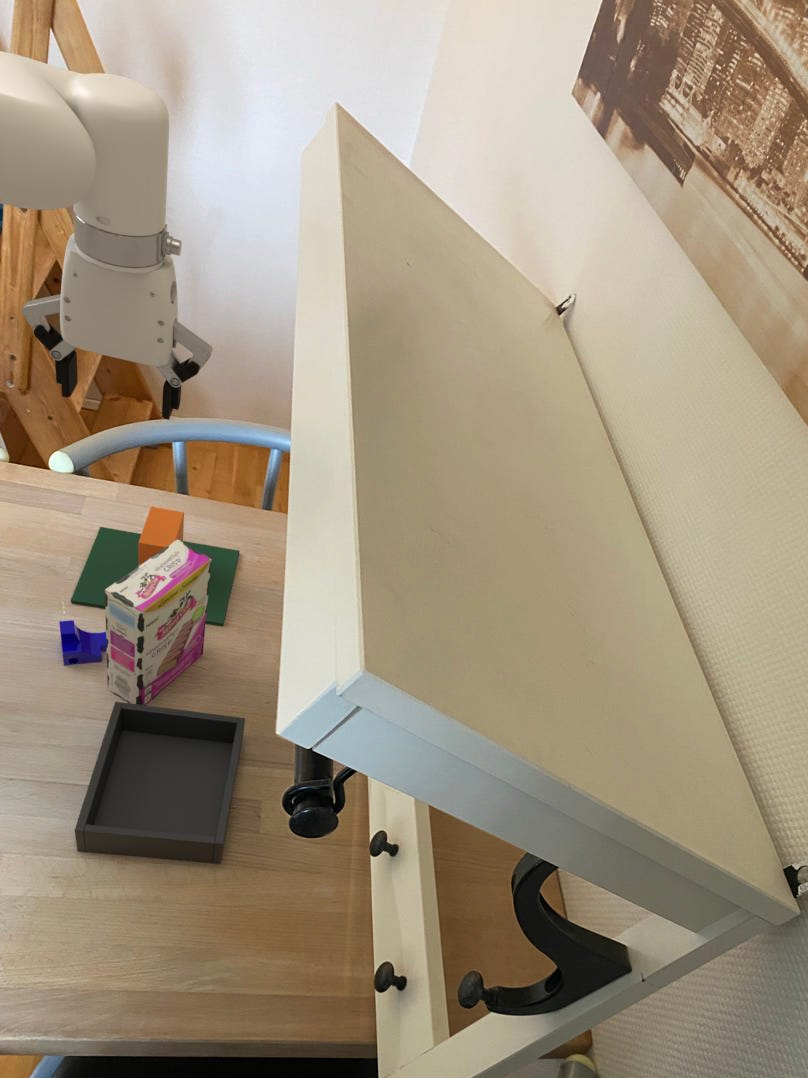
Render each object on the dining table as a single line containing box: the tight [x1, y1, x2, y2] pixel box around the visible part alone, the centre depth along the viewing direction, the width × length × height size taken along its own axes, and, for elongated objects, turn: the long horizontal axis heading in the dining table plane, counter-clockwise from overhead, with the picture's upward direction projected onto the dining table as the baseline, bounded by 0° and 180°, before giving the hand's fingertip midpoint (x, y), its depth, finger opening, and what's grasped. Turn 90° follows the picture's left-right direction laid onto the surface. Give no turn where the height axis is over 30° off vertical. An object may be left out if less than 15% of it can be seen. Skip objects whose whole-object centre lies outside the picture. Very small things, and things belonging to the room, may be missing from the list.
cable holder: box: [58, 619, 107, 666], centre depth 98 cm, size 8×4×4 cm, turn 112°
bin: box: [74, 701, 246, 865], centre depth 88 cm, size 14×16×4 cm
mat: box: [70, 526, 240, 627], centre depth 110 cm, size 18×14×1 cm
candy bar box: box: [104, 540, 211, 706], centre depth 94 cm, size 11×5×16 cm, turn 154°
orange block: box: [138, 506, 185, 566], centre depth 107 cm, size 4×7×8 cm, turn 3°
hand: (119, 401), depth 88 cm, fingers open, 9 cm apart
